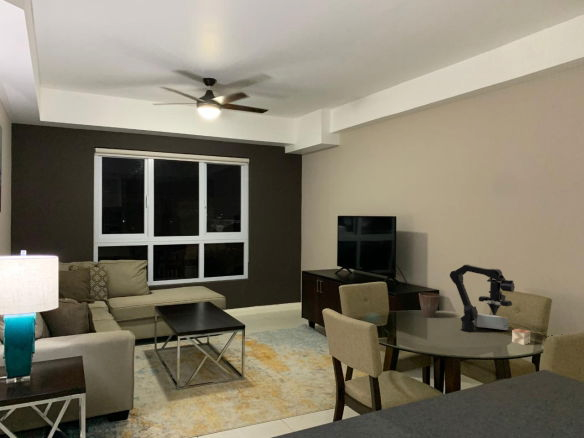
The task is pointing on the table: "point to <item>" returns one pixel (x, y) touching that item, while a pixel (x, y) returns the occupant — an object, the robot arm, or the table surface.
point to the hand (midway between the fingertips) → (494, 315)
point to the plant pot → (429, 303)
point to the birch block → (521, 336)
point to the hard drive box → (491, 321)
